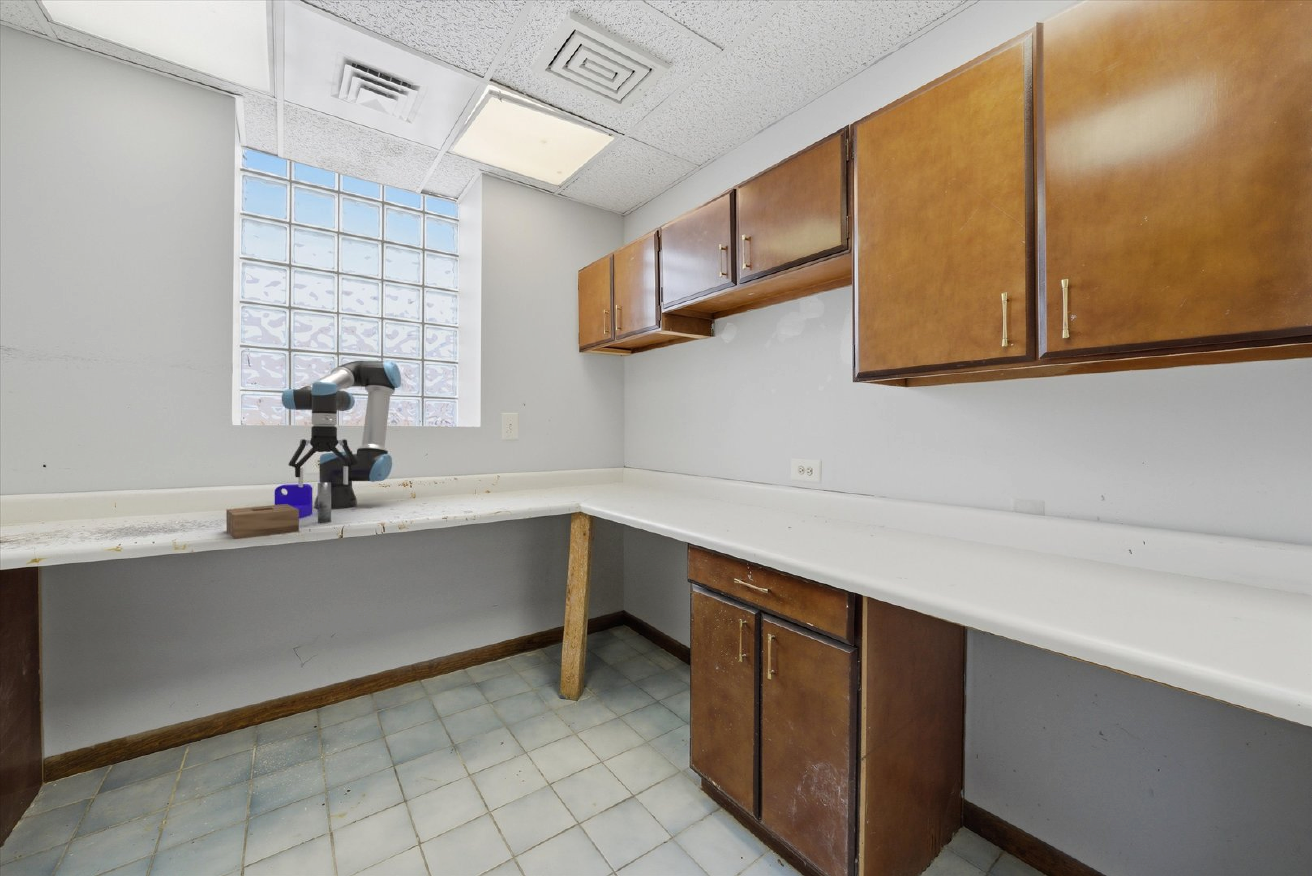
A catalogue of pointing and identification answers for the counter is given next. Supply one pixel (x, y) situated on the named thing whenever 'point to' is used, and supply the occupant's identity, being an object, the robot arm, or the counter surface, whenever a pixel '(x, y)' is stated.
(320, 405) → the robot arm
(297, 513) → the bore block
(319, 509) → the pin
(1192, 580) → the counter surface
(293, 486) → the bracket
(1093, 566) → the counter surface
